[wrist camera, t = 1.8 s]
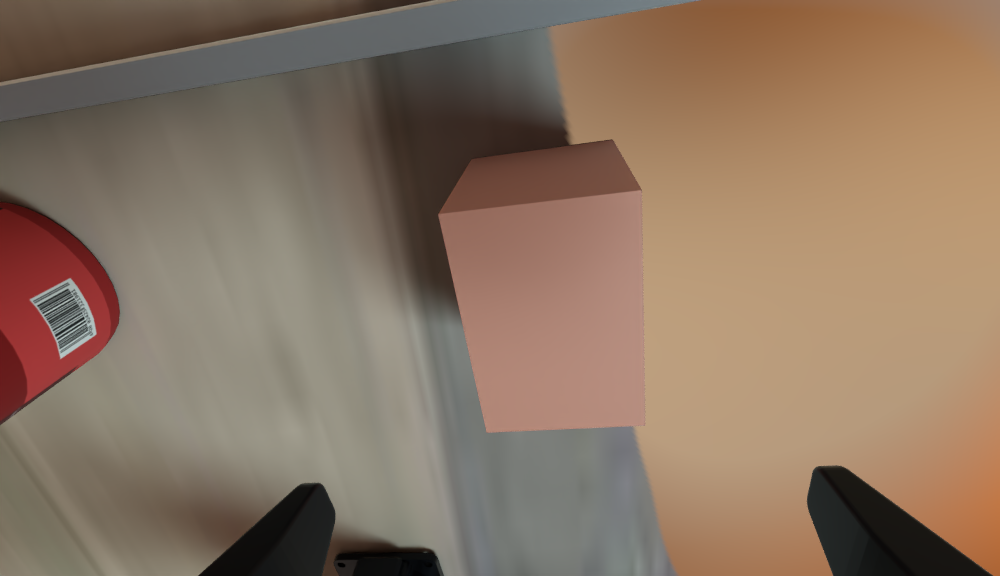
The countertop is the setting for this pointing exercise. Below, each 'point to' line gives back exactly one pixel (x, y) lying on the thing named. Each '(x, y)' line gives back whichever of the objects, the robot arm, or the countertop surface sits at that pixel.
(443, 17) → the price rail
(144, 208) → the countertop surface
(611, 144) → the salmon pink block
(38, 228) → the canned food
